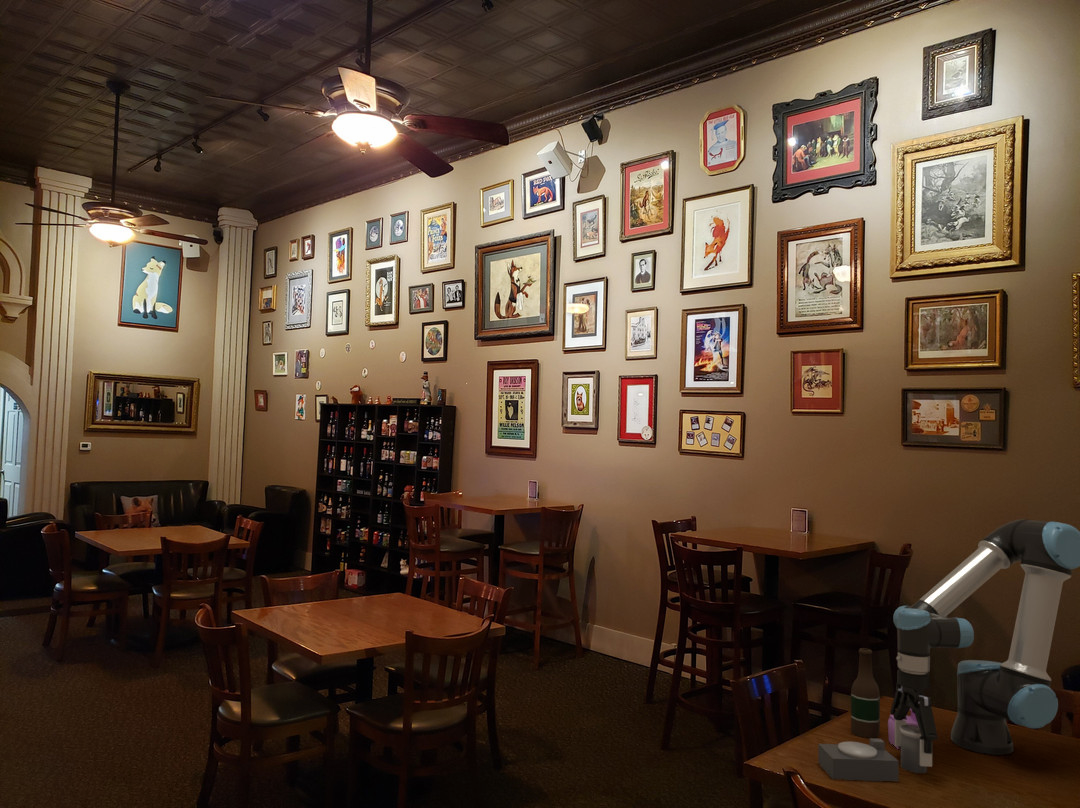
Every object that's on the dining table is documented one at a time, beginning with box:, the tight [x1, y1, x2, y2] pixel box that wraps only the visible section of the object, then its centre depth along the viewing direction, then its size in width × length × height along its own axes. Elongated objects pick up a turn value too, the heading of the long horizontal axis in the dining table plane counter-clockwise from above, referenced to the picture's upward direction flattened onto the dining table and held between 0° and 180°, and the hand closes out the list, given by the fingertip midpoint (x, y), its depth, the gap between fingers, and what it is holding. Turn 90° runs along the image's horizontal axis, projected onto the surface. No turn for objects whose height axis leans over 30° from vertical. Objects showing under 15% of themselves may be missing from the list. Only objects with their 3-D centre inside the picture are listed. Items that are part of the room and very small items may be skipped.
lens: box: [900, 725, 928, 774], centre depth 197 cm, size 6×6×10 cm
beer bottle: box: [850, 647, 881, 739], centre depth 222 cm, size 8×8×24 cm
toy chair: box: [887, 708, 918, 750], centre depth 213 cm, size 8×9×15 cm
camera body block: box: [817, 738, 900, 782], centre depth 193 cm, size 16×10×7 cm, turn 90°
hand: (912, 755), depth 196 cm, fingers open, 13 cm apart
